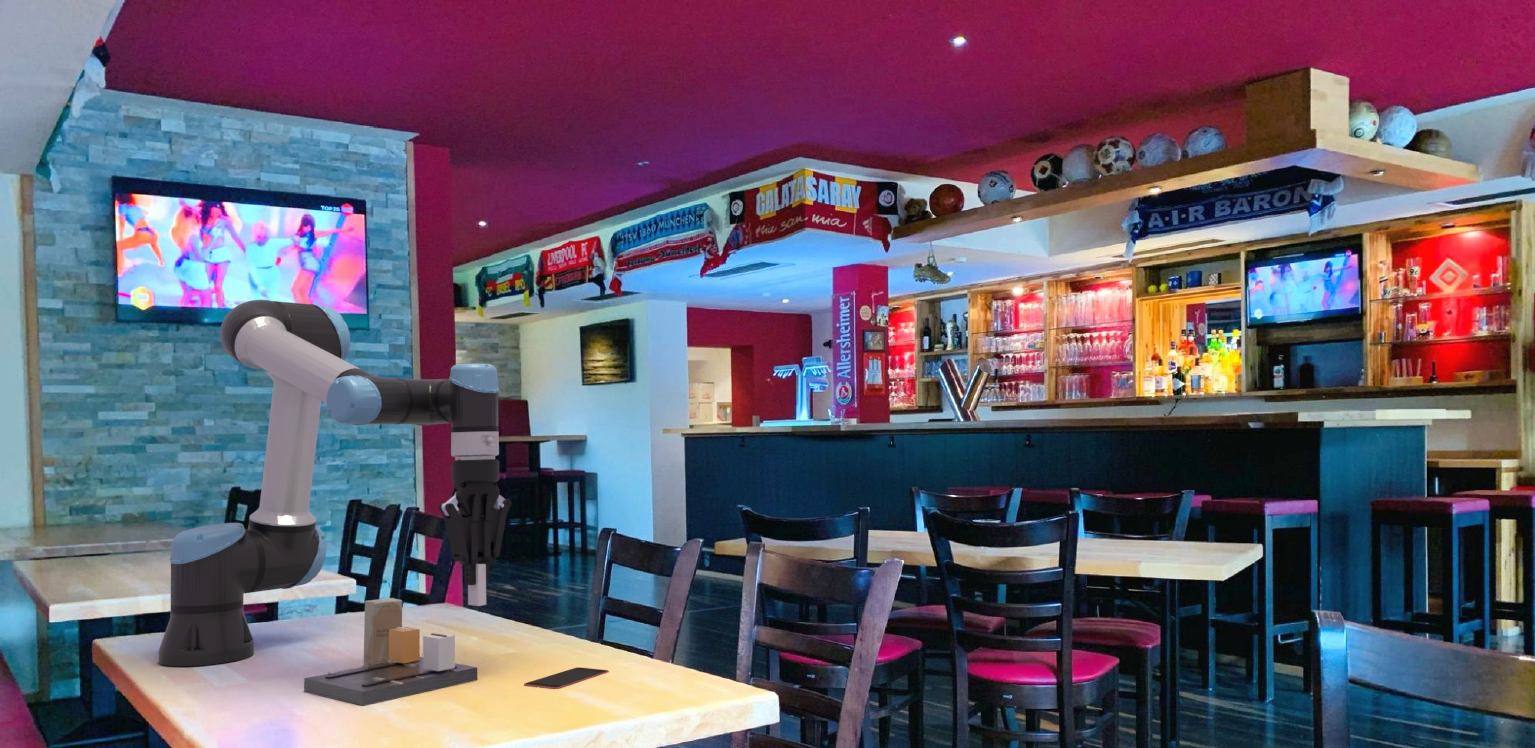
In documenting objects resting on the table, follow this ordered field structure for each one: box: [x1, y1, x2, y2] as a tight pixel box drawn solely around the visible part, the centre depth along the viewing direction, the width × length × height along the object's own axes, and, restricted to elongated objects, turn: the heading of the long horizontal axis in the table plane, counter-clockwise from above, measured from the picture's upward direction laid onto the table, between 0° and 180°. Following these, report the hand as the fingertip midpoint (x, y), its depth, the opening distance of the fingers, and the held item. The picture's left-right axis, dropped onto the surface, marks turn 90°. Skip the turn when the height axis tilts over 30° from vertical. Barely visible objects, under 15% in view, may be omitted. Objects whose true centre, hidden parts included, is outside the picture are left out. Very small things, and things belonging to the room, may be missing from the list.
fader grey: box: [422, 632, 456, 671], centre depth 172 cm, size 4×3×5 cm
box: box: [363, 597, 403, 666], centre depth 187 cm, size 5×4×11 cm
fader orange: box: [389, 626, 421, 663], centre depth 179 cm, size 4×3×5 cm
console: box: [303, 656, 478, 707], centre depth 171 cm, size 17×20×2 cm
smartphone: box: [523, 667, 610, 690], centre depth 174 cm, size 7×1×14 cm
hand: (477, 604), depth 178 cm, fingers closed
